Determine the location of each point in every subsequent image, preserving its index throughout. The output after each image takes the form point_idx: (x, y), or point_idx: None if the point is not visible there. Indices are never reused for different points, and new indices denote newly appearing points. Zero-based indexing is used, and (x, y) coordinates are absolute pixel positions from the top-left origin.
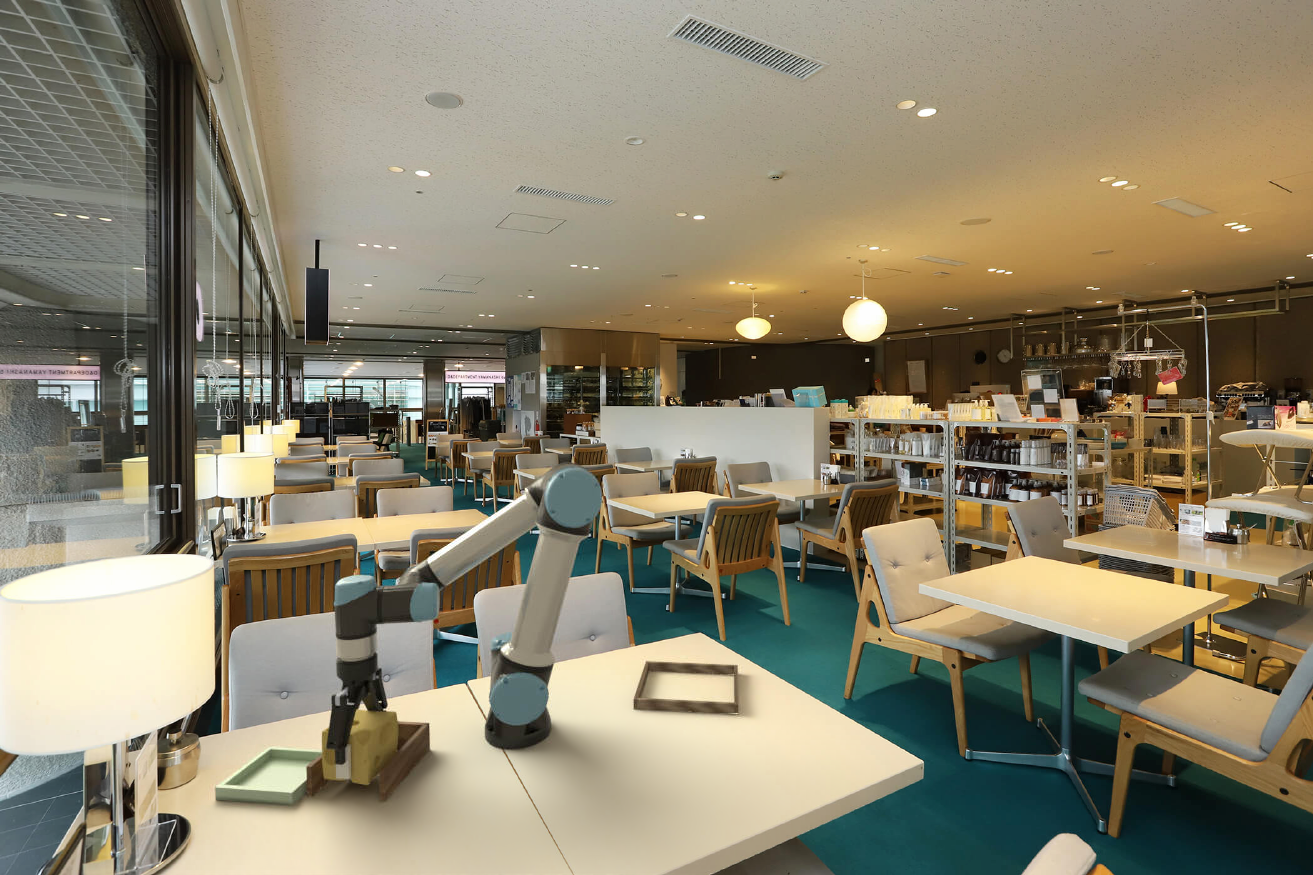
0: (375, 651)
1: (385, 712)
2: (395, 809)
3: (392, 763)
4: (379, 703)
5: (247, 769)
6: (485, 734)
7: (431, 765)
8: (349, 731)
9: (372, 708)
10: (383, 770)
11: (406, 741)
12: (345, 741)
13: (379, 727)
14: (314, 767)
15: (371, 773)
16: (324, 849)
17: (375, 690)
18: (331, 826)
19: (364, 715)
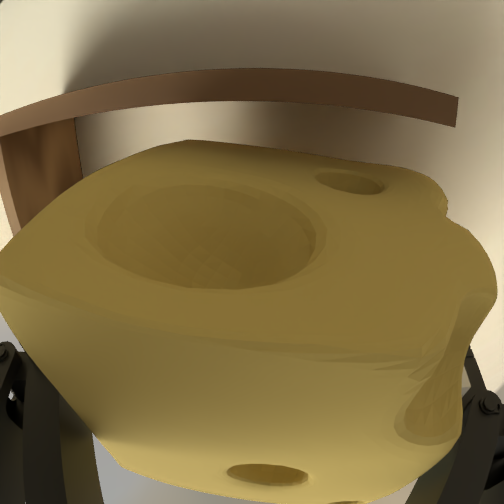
0: None
1: (44, 361)
2: (439, 38)
3: (361, 76)
4: (24, 424)
5: None
6: None
7: (141, 26)
8: (464, 472)
9: (76, 436)
10: (448, 103)
11: (62, 182)
12: (495, 423)
13: (333, 329)
14: None
15: (411, 174)
16: None
17: (2, 495)
18: (499, 215)
19: (152, 452)
